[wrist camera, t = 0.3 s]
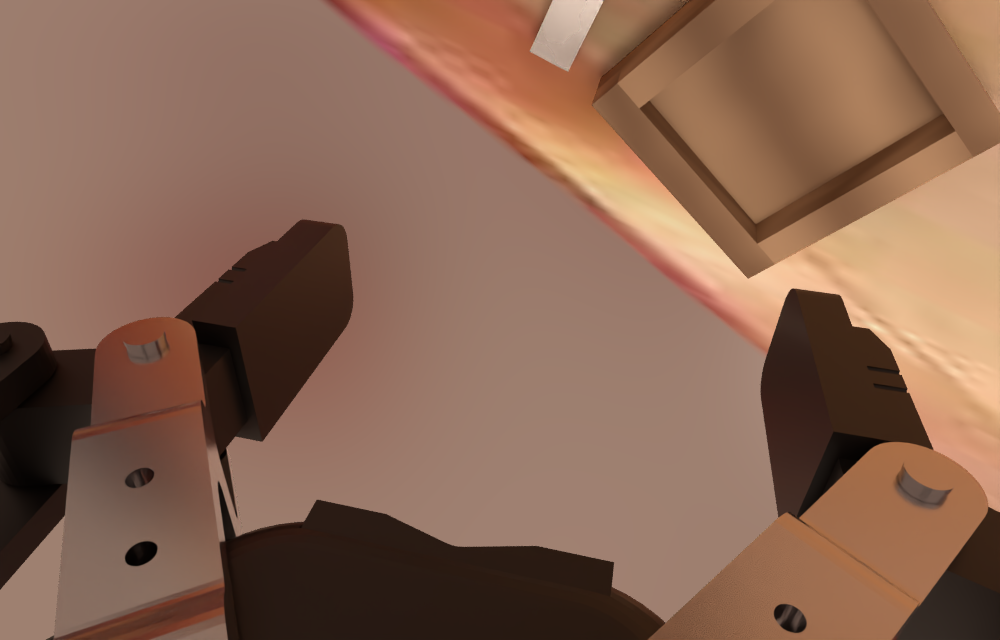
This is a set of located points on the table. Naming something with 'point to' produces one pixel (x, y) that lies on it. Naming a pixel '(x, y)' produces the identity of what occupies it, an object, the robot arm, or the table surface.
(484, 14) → the table surface
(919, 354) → the table surface
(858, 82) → the brown wooden tray
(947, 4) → the table surface
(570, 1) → the bar
